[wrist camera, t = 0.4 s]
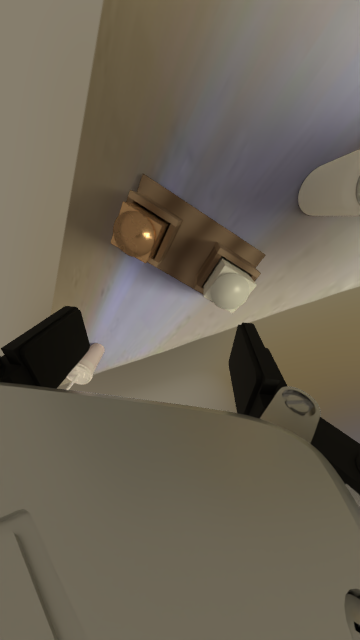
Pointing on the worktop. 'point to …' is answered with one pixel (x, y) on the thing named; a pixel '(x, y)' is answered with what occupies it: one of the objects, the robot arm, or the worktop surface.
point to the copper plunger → (139, 231)
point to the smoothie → (86, 366)
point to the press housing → (192, 238)
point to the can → (333, 188)
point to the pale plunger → (228, 285)
